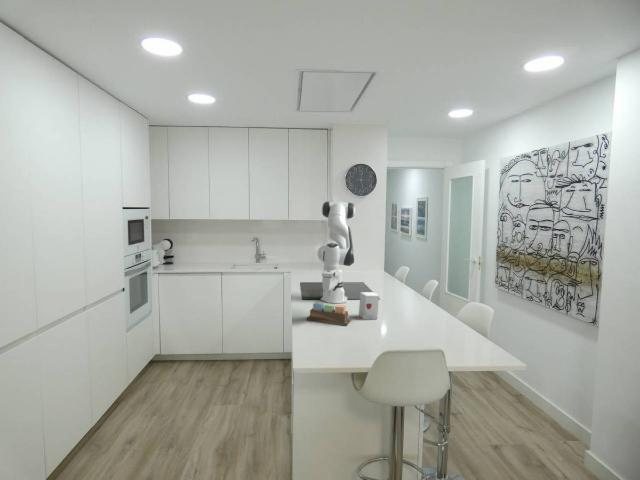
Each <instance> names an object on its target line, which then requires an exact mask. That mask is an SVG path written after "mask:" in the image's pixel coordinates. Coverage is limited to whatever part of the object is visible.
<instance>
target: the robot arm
mask: <svg viewBox="0 0 640 480" xmlns="http://www.w3.org/2000/svg"><path fill="white" fill-rule="evenodd" d="M321 213H322V216H323V217H325V218H327V227H328V228H329V230H328V231H329V232H328V233H329V234H328V235H329V239H330V240H332V241H333V242H335V243H333V242H330V243H327V244H325V245H324V246H323V245H322V246H320V247H319V248H318V250H317V257H318V259H319V260H320V261H321V263H323V264H324V265H323V269H322V270H323V271H322V272H321V277H322V283H321V284H322V290H323V291H322V292H323V293H322V297H321V298H320V300H321V301H323V302H325V303H328V304H342V303H343V304H346V303H348V296H346V295H345V293H346V292H345V289H344V280H343V279H344V271H343V269H342V268H341V267H340V266H346V267H347V266H348V267H350V266H352V265H353V264H354V263H355V261H356V256H355V250H354V246H353V245H354V244H353V237H352V236H353V235H352V231H351V228H350V226H349V225H347V222H346V221H347V220H349V219H352V218H353V217H354V216H355V214H356V207H355V204H353V203H352V202H344V201H324V203H323V204H322V206H321Z"/></svg>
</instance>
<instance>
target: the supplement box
mask: <svg viewBox="0 0 640 480" xmlns="http://www.w3.org/2000/svg"><path fill="white" fill-rule="evenodd" d="M379 298H380V295H379V294H377V293H376V292H374V291H366V292H364V291H363V292H362V291H361V292H360V293H359V307H358V317H360V318H362V320H365V321H366V320H369V321H370V320H378V314H379V302H380V301H379Z"/></svg>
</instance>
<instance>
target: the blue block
mask: <svg viewBox="0 0 640 480" xmlns="http://www.w3.org/2000/svg"><path fill="white" fill-rule="evenodd" d="M312 305H313V306H312V308H313V310H316V311H322V310H324V305H325V303H324V302H319V301H315V302H313V304H312Z"/></svg>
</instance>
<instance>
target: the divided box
mask: <svg viewBox="0 0 640 480" xmlns="http://www.w3.org/2000/svg"><path fill="white" fill-rule="evenodd" d="M305 320H306V321H308V322H309V321H310V322H316V323H323V324H328V325H329V324H330V325H338V326H344V327H347V326H348V325H349V324H350V323H351V320H352V319H351V318H349V311H347V310H345V313H344V314H339V313H335V310H334V312H333V313H332V312H324V310H322V311H316V310H313V307H312V308H311V309H309V315H308V316H307V317H306V319H305Z"/></svg>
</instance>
